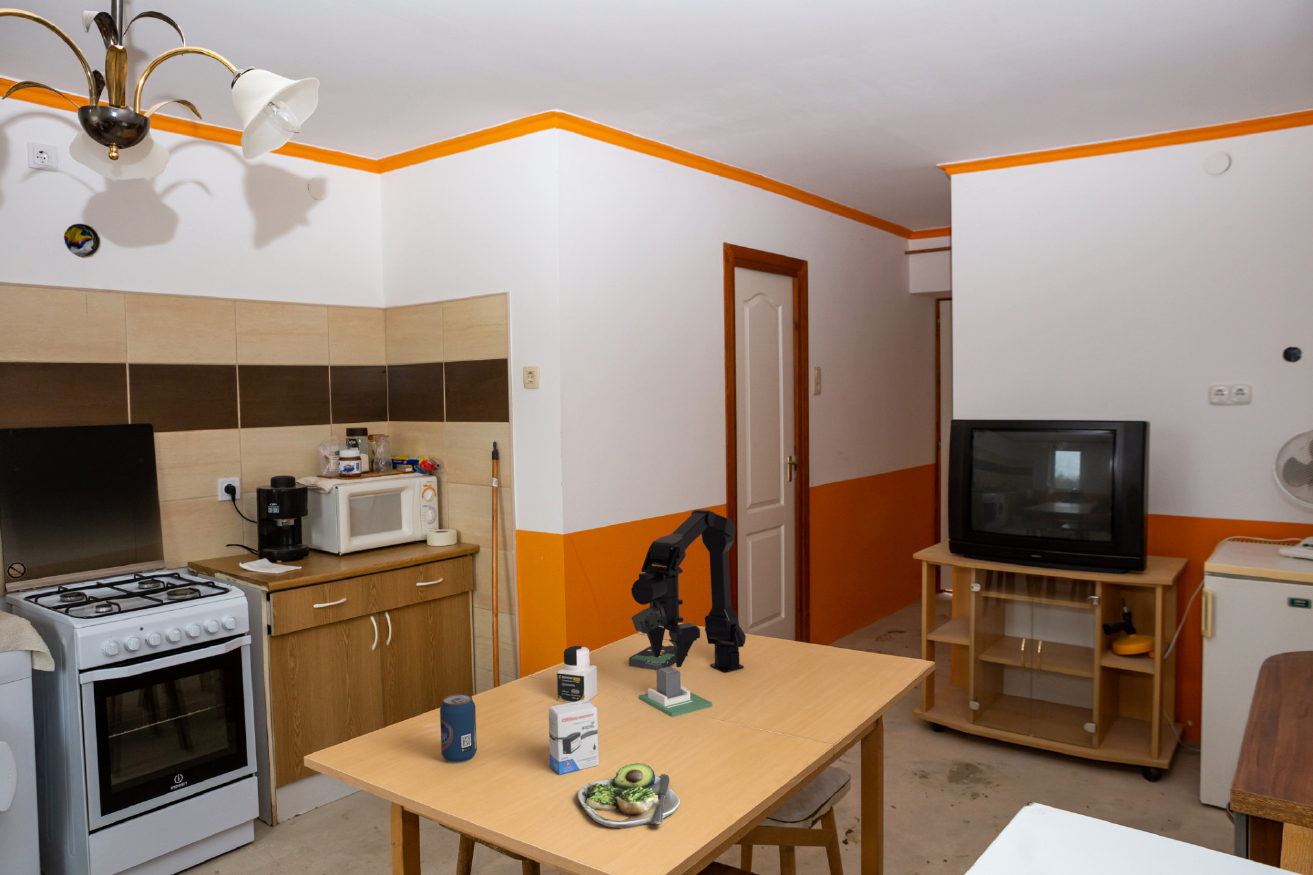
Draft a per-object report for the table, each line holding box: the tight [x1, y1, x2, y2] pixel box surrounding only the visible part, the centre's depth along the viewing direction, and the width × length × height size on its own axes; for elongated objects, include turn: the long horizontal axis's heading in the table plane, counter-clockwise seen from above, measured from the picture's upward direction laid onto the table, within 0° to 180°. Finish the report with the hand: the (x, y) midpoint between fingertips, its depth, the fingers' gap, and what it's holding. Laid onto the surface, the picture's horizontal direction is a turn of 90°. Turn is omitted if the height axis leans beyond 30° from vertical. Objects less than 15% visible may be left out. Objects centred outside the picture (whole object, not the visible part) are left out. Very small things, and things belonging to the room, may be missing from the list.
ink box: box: [548, 700, 600, 776], centre depth 170 cm, size 8×5×12 cm, turn 117°
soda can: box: [439, 693, 478, 764], centre depth 175 cm, size 7×7×12 cm
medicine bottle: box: [556, 645, 598, 703], centre depth 208 cm, size 7×7×12 cm
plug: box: [655, 666, 682, 699], centre depth 204 cm, size 4×4×7 cm
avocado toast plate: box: [577, 762, 681, 829], centre depth 153 cm, size 19×18×5 cm
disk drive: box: [628, 644, 689, 671], centre depth 235 cm, size 10×3×15 cm
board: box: [638, 685, 713, 718], centre depth 204 cm, size 14×11×3 cm
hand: (667, 661), depth 203 cm, fingers open, 9 cm apart
